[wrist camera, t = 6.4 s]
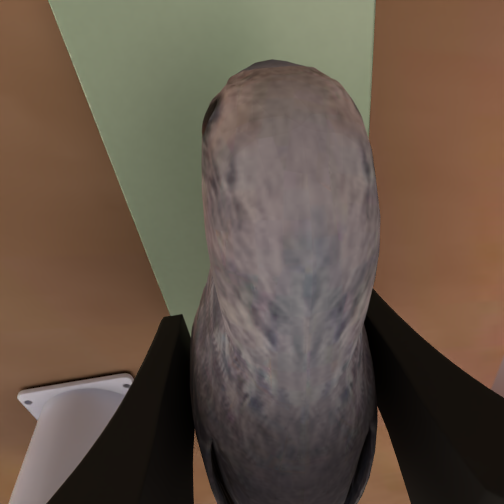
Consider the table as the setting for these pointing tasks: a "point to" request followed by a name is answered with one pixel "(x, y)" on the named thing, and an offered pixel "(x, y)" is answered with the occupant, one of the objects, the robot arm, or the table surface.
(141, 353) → the table surface
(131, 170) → the shelf
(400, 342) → the robot arm
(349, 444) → the bird
